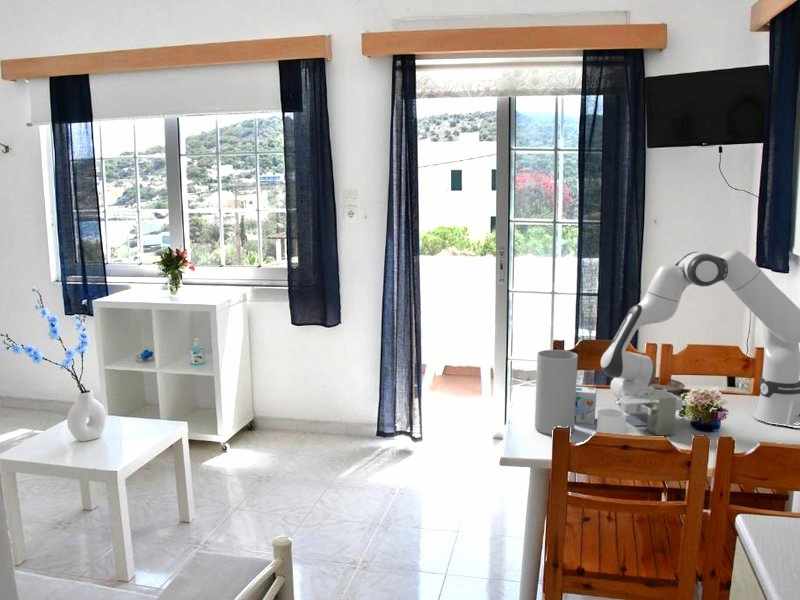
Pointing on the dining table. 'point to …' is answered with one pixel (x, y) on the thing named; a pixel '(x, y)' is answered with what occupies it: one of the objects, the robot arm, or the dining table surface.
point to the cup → (611, 421)
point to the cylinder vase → (555, 390)
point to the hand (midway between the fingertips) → (663, 411)
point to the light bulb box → (585, 405)
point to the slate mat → (637, 420)
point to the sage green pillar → (662, 414)
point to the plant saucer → (669, 386)
